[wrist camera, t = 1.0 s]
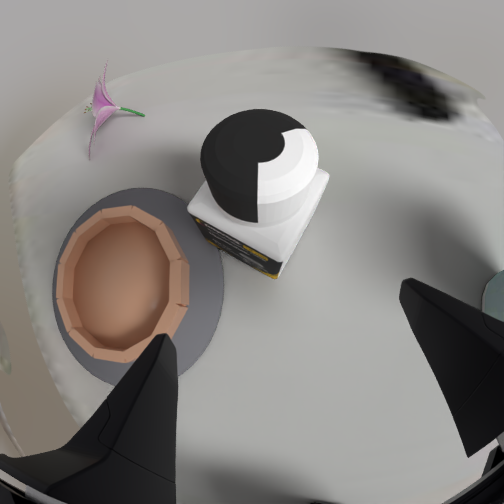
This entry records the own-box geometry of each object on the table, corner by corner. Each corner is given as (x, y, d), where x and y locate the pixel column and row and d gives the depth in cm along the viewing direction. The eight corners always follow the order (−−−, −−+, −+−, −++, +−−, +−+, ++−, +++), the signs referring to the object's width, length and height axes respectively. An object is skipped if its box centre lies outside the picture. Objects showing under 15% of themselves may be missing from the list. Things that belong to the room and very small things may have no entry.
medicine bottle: (205, 240, 24) (158, 169, 12) (246, 178, 25) (236, 81, 14) (276, 281, 23) (291, 237, 11) (314, 212, 24) (351, 127, 13)
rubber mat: (162, 426, 20) (160, 428, 20) (35, 313, 24) (33, 312, 24) (265, 241, 24) (265, 240, 23) (111, 166, 27) (109, 164, 27)
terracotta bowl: (146, 387, 21) (135, 392, 19) (54, 306, 24) (40, 304, 21) (218, 254, 24) (212, 248, 21) (110, 195, 26) (100, 186, 24)
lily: (125, 93, 32) (73, 74, 24) (177, 69, 26) (115, 37, 18) (107, 168, 33) (48, 157, 25) (156, 160, 27) (79, 140, 19)
